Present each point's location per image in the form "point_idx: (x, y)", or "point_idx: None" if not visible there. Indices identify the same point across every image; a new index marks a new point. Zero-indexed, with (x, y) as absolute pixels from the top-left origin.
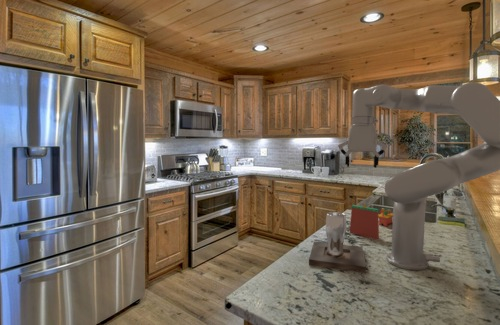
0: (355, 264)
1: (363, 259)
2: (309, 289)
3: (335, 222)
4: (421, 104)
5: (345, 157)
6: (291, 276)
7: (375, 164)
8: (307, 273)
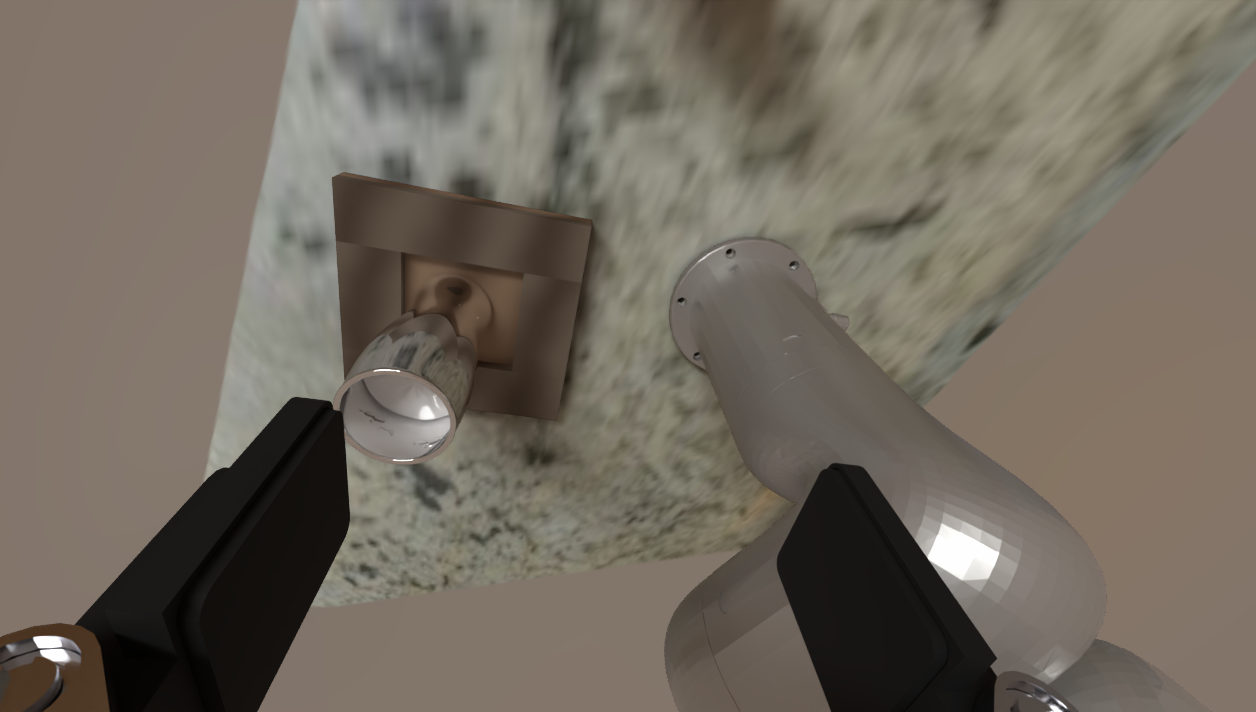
0: (522, 409)
1: (561, 365)
2: (381, 511)
3: (404, 442)
4: None
5: (94, 629)
6: None
7: (802, 612)
8: None
